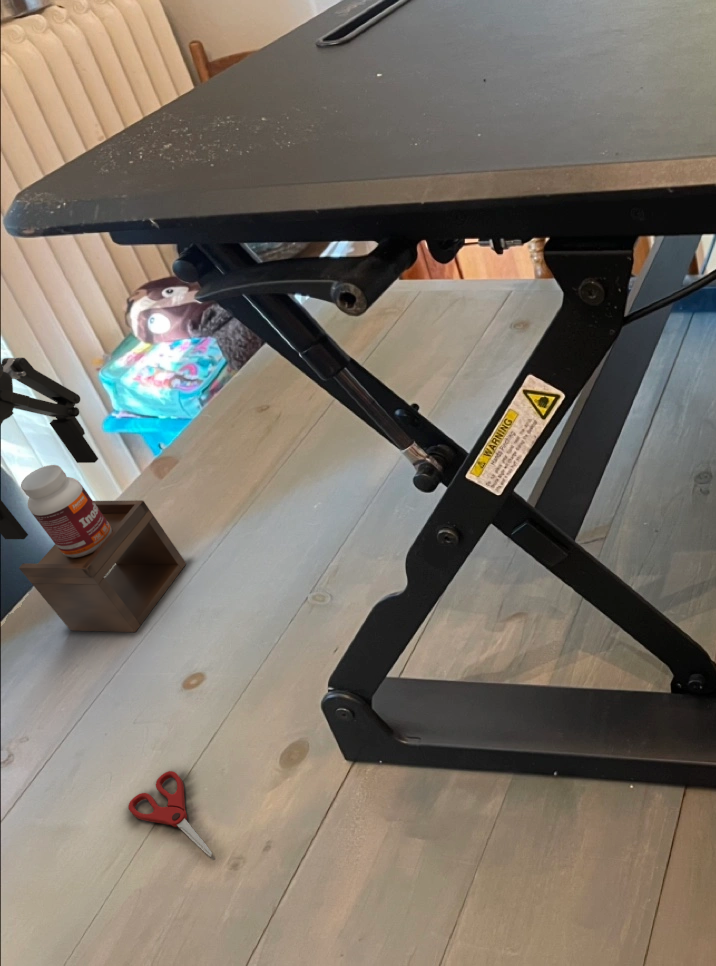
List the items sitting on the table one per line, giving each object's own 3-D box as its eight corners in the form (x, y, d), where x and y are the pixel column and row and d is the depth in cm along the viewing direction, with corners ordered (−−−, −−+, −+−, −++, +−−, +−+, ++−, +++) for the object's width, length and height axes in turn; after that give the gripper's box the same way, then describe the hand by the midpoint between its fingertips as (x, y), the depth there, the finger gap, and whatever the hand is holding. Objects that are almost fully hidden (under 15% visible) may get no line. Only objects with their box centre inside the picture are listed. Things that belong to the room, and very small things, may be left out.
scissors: (174, 771, 116) (169, 766, 116) (237, 837, 108) (233, 832, 108) (128, 809, 113) (123, 803, 113) (189, 879, 105) (185, 874, 105)
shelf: (70, 630, 137) (18, 567, 130) (124, 562, 146) (79, 500, 139) (135, 632, 135) (86, 568, 128) (186, 563, 144) (143, 500, 137)
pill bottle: (109, 550, 132) (61, 485, 126) (58, 565, 132) (7, 501, 125) (117, 519, 137) (71, 454, 131) (69, 533, 137) (20, 469, 130)
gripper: (-110, 427, 106) (10, 573, 119) (50, 293, 125) (138, 432, 138) (-168, 428, 108) (-44, 572, 121) (-2, 296, 127) (90, 432, 140)
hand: (53, 497), depth 130 cm, fingers open, 13 cm apart
